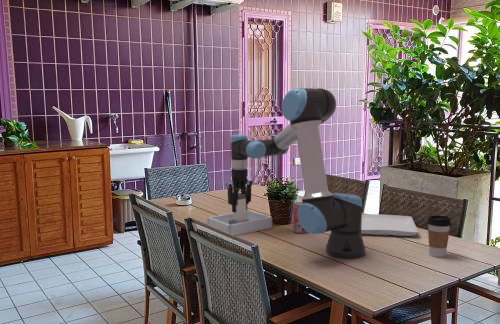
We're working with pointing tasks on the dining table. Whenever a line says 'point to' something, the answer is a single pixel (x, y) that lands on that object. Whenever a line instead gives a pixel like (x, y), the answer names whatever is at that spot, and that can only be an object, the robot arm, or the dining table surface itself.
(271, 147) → the robot arm
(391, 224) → the square plate
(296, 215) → the soda can
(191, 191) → the dining table surface
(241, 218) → the pepper shaker
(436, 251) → the coffee cup
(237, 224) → the box
